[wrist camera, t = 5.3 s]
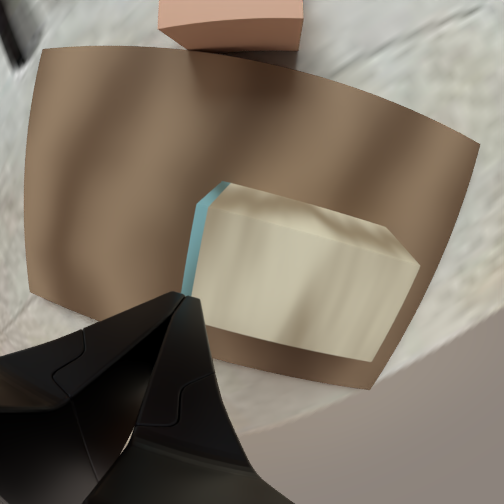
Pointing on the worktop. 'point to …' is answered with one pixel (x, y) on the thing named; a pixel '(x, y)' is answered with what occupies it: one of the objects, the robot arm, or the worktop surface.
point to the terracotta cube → (232, 24)
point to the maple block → (295, 272)
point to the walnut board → (219, 178)
